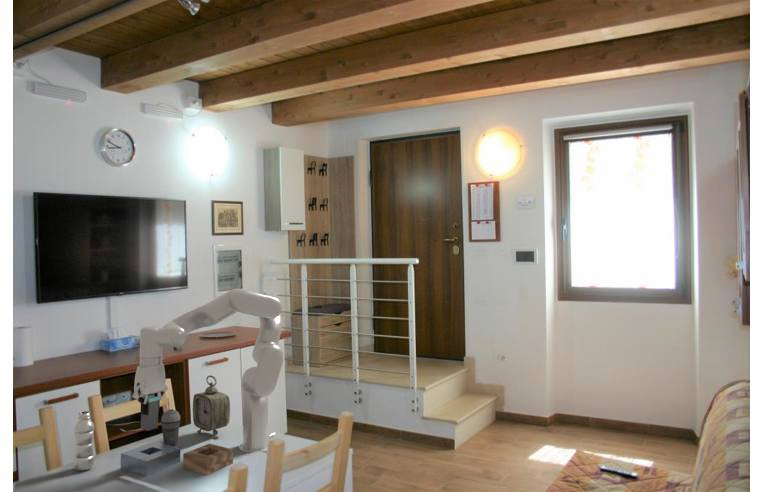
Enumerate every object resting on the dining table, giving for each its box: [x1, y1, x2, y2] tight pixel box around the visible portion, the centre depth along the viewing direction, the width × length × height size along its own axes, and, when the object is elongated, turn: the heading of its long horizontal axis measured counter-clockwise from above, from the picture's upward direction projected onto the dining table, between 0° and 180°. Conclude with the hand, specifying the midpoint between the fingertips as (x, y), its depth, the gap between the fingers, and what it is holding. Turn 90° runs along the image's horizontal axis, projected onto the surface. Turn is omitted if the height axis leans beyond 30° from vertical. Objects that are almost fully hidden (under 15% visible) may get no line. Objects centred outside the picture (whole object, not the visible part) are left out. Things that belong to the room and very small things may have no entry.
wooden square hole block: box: [182, 443, 234, 476], centre depth 200 cm, size 12×12×6 cm
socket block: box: [120, 441, 181, 477], centre depth 200 cm, size 14×14×6 cm
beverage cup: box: [160, 397, 182, 448], centre depth 217 cm, size 7×7×20 cm
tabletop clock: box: [192, 374, 231, 441], centre depth 234 cm, size 14×9×25 cm, turn 50°
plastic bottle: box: [73, 411, 95, 472], centre depth 198 cm, size 6×7×20 cm
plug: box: [140, 394, 160, 431], centre depth 200 cm, size 4×4×11 cm
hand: (150, 412), depth 200 cm, fingers closed on plug, 4 cm apart
